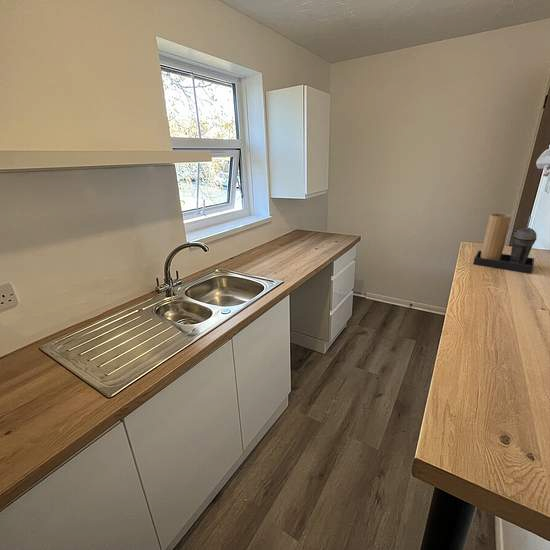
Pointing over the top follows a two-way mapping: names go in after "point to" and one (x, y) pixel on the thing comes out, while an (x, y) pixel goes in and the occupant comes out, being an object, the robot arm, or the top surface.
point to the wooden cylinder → (495, 236)
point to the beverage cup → (522, 244)
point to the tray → (505, 263)
